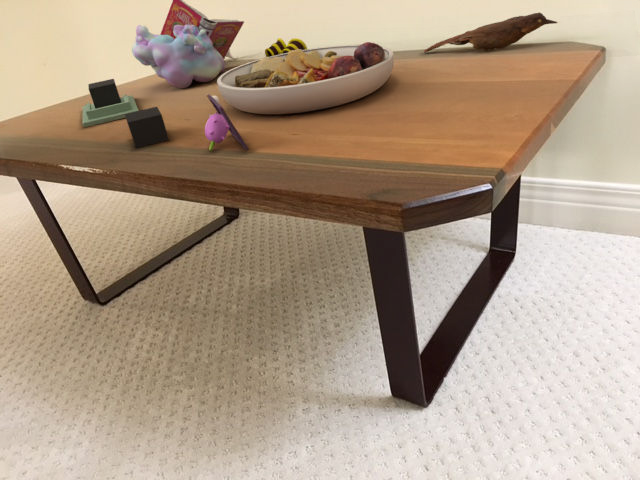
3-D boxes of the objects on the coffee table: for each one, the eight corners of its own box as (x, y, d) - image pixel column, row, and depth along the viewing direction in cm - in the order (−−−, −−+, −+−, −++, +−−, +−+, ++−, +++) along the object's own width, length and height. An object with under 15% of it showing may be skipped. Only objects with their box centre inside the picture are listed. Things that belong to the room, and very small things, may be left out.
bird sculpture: (429, 61, 113) (424, 37, 111) (559, 30, 101) (556, 2, 99) (422, 70, 108) (416, 45, 106) (558, 38, 96) (554, 9, 94)
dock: (83, 127, 97) (74, 101, 95) (83, 110, 110) (75, 86, 108) (139, 114, 99) (131, 88, 97) (133, 98, 113) (126, 75, 111)
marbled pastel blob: (115, 77, 111) (134, -11, 102) (143, 53, 129) (161, -22, 121) (210, 114, 115) (237, 33, 107) (224, 86, 134) (247, 15, 125)
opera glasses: (267, 66, 126) (260, 46, 123) (283, 57, 129) (276, 36, 126) (294, 68, 120) (287, 46, 117) (310, 58, 122) (304, 36, 119)
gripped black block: (135, 148, 80) (127, 122, 78) (132, 138, 85) (124, 114, 83) (169, 140, 82) (161, 114, 80) (164, 131, 87) (156, 106, 85)
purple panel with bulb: (226, 102, 68) (213, 90, 76) (191, 125, 68) (181, 111, 75) (253, 146, 72) (238, 130, 79) (221, 168, 71) (208, 150, 79)
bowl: (188, 122, 89) (175, 73, 85) (276, 75, 112) (268, 35, 108) (357, 120, 76) (350, 63, 72) (417, 68, 99) (414, 22, 95)
